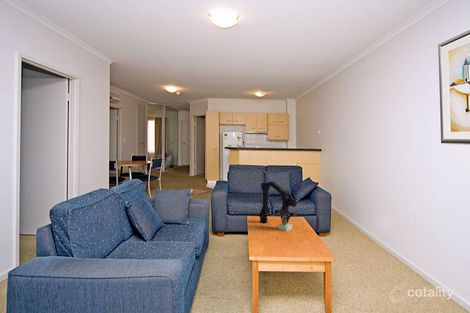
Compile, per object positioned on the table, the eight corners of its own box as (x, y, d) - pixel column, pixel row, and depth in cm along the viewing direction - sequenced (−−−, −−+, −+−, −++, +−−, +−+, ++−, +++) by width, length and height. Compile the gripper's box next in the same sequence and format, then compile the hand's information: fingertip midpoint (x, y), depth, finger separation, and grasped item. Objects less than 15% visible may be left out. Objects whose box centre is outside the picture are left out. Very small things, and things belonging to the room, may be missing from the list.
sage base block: (278, 229, 236) (278, 224, 235) (283, 227, 242) (283, 222, 242) (286, 231, 229) (286, 226, 229) (291, 229, 236) (292, 224, 236)
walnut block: (281, 223, 235) (281, 216, 235) (283, 222, 239) (284, 215, 239) (286, 224, 232) (286, 217, 232) (288, 223, 236) (288, 216, 236)
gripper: (272, 205, 234) (271, 222, 235) (291, 208, 223) (291, 226, 224) (277, 203, 243) (277, 219, 244) (296, 205, 232) (296, 223, 233)
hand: (285, 222), depth 236 cm, fingers closed on walnut block, 4 cm apart
